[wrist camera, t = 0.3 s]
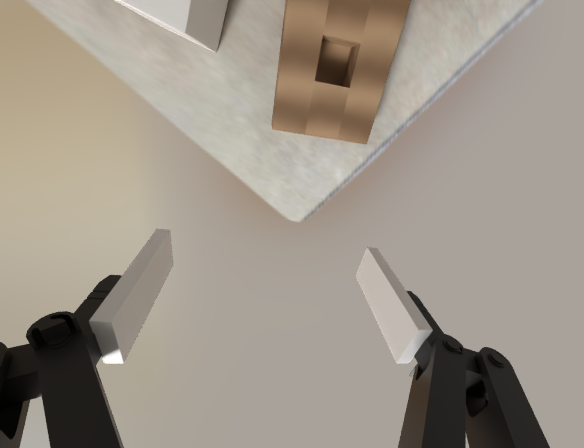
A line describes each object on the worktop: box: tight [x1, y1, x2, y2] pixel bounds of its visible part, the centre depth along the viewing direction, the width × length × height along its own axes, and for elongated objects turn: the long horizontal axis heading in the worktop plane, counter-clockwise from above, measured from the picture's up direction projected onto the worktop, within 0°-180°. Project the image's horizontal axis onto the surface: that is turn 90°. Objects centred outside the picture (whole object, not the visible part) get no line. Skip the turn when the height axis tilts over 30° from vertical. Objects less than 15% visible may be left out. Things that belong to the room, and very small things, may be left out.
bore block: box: [272, 0, 411, 144], centre depth 32 cm, size 18×14×5 cm
